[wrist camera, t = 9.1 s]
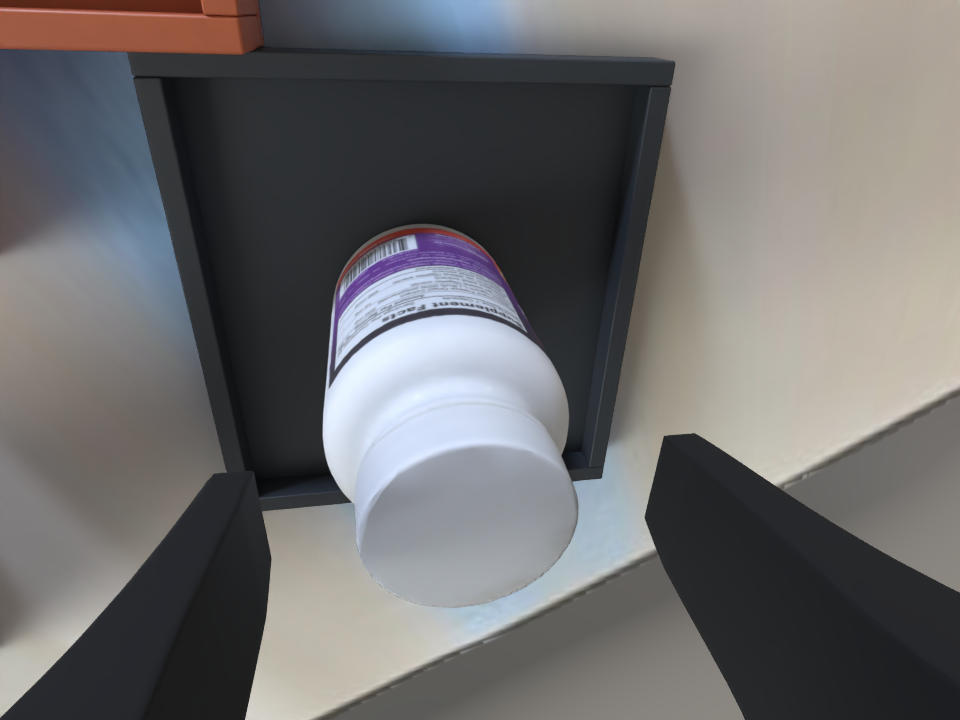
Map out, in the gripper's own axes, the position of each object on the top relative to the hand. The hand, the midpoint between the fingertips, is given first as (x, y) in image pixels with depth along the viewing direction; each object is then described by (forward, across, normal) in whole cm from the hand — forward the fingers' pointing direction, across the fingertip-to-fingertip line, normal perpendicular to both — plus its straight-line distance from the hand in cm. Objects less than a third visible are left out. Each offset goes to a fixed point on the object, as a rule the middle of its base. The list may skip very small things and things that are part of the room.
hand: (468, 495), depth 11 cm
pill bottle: (+10, 0, 0) cm, 10 cm away
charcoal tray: (+10, 0, +1) cm, 10 cm away
